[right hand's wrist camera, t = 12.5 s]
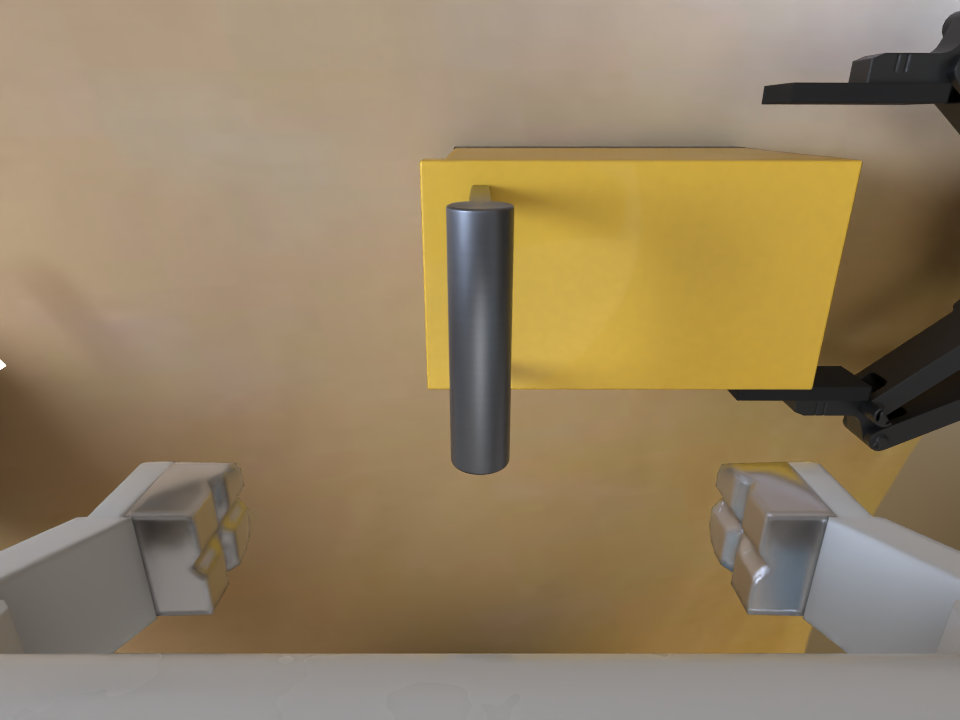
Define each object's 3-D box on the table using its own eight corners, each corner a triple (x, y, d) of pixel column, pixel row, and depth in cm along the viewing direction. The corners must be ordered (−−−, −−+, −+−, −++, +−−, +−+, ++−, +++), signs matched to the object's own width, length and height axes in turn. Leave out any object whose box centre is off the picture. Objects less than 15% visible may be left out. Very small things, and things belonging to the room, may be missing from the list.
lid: (429, 379, 27) (406, 495, 18) (422, 158, 23) (389, 179, 15) (799, 379, 26) (942, 496, 18) (847, 158, 23) (1048, 179, 15)
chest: (457, 308, 36) (448, 379, 27) (454, 146, 33) (443, 158, 23) (713, 308, 36) (799, 379, 27) (737, 146, 33) (846, 158, 23)
